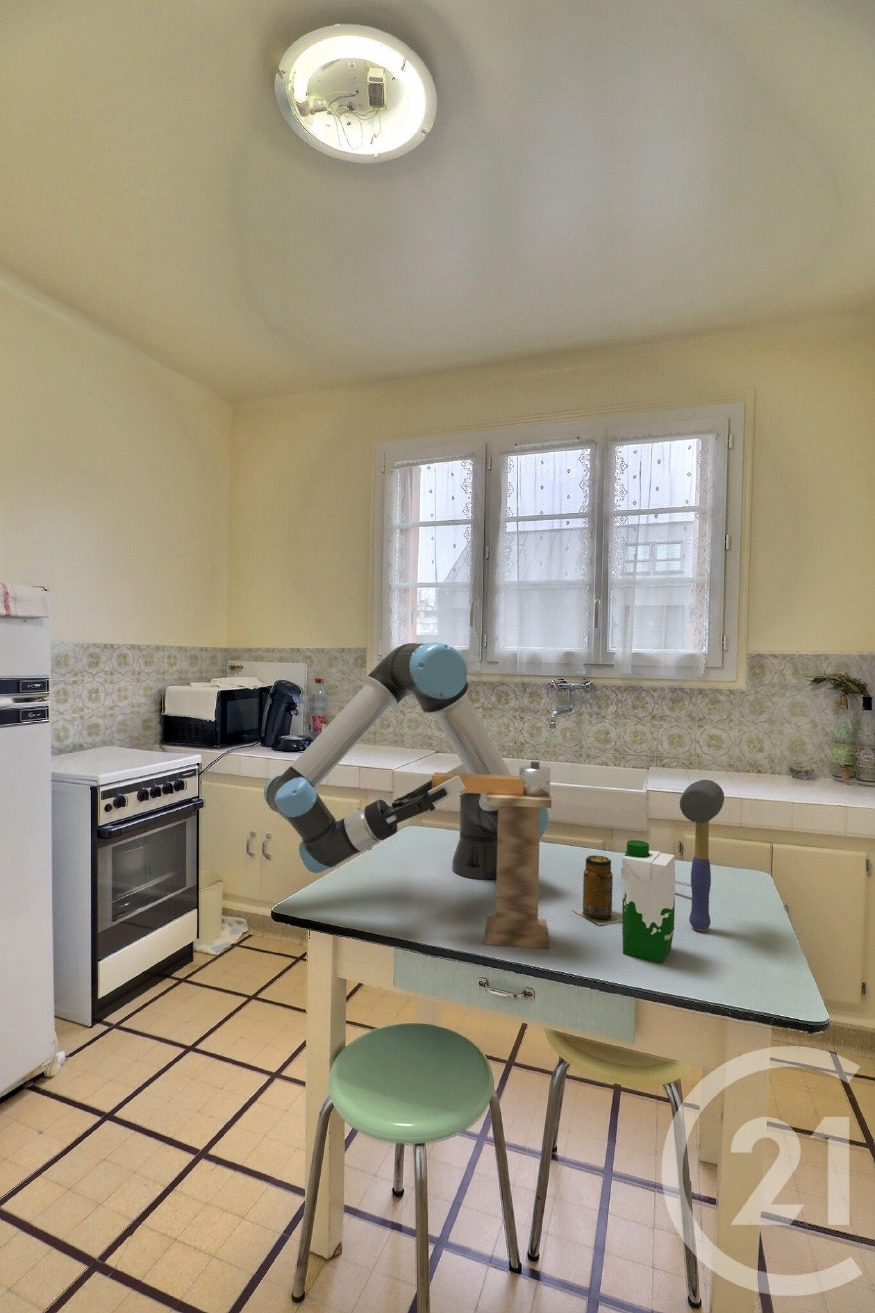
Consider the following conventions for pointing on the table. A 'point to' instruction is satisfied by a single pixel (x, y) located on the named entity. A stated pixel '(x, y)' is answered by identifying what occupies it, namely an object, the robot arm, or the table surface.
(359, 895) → the table surface
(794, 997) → the table surface
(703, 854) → the rubber mallet
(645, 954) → the milk carton
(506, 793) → the wooden handle
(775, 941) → the table surface
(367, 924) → the table surface
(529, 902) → the walnut stand
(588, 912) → the condiment
